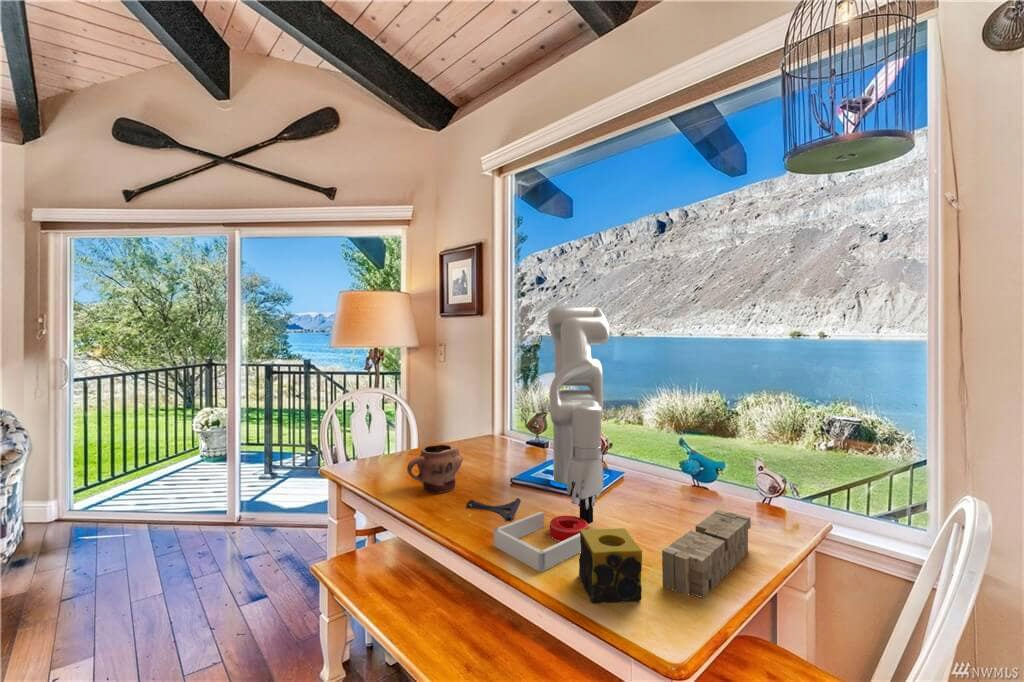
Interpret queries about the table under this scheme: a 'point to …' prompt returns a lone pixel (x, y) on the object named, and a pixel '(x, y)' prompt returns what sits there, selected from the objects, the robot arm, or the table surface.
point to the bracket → (497, 508)
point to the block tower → (705, 553)
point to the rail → (528, 554)
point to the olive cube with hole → (610, 565)
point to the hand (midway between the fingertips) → (586, 521)
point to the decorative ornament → (566, 527)
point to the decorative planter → (437, 467)
